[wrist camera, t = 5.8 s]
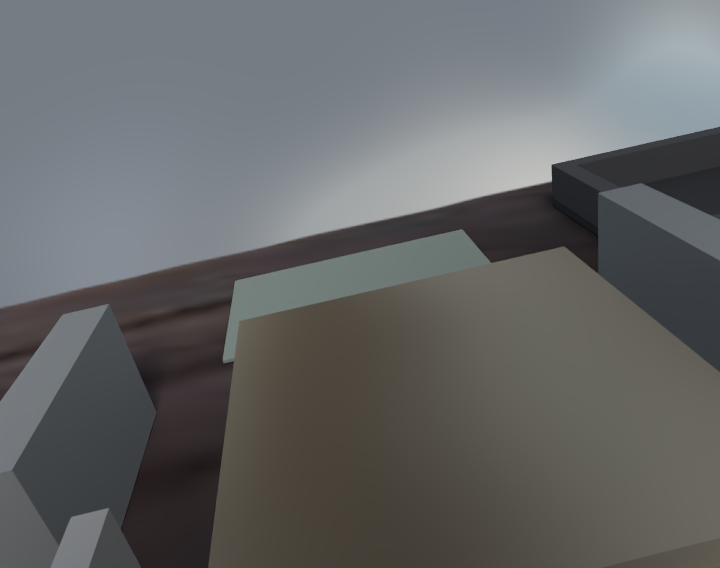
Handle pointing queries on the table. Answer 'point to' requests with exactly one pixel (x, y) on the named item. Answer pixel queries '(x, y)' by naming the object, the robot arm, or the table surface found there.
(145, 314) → the table surface
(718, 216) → the tray
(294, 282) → the pad
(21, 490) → the walled passage
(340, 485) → the birch block
